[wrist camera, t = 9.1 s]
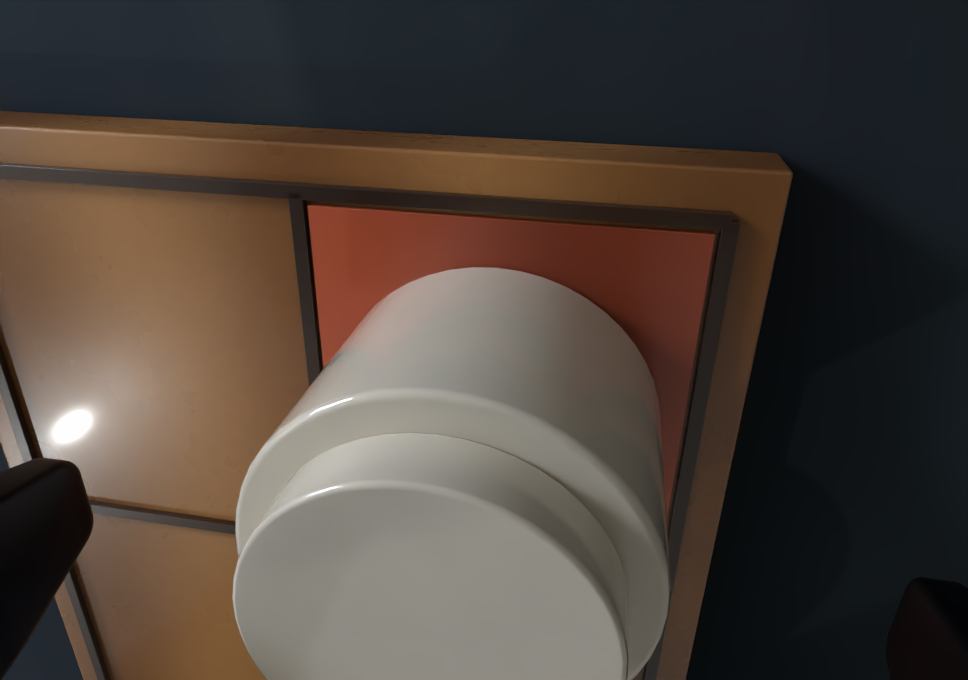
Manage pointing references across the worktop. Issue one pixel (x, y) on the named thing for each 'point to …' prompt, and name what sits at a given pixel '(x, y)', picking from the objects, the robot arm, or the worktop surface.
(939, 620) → the robot arm
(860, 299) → the worktop surface
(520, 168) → the wooden grid board
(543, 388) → the white lidded jar
